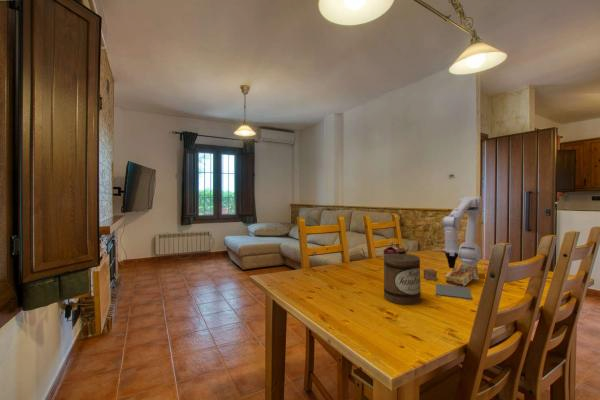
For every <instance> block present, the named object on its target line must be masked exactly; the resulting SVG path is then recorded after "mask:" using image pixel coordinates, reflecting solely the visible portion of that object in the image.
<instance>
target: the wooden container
mask: <svg viewBox="0 0 600 400" xmlns="http://www.w3.org/2000/svg"><path fill="white" fill-rule="evenodd" d="M398 248H399V249H398V250H397V251H398V253H397V254H387V255H385V256H384V255H383V297H384V299H385V300H386V301H388V302H390V303H393V304H397V305H407V306H408V305H409V306H410V305H411V306H412V305H415V304H419V303H420V302H421V289H422V288H421V258H420V257H419V256H416V255H413V254H408V253H406V249H405V248H404V247H398Z"/></svg>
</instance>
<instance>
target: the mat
mask: <svg viewBox="0 0 600 400" xmlns="http://www.w3.org/2000/svg"><path fill="white" fill-rule="evenodd" d="M435 296H440V297H448V298H455V299H462V300H463V299H464V300H471V301H473V296H472V293H471V289H470V287H468V286H464V287H462V286H458V285H453V284H451V285H450V284H441V283H436V284H435Z"/></svg>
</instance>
